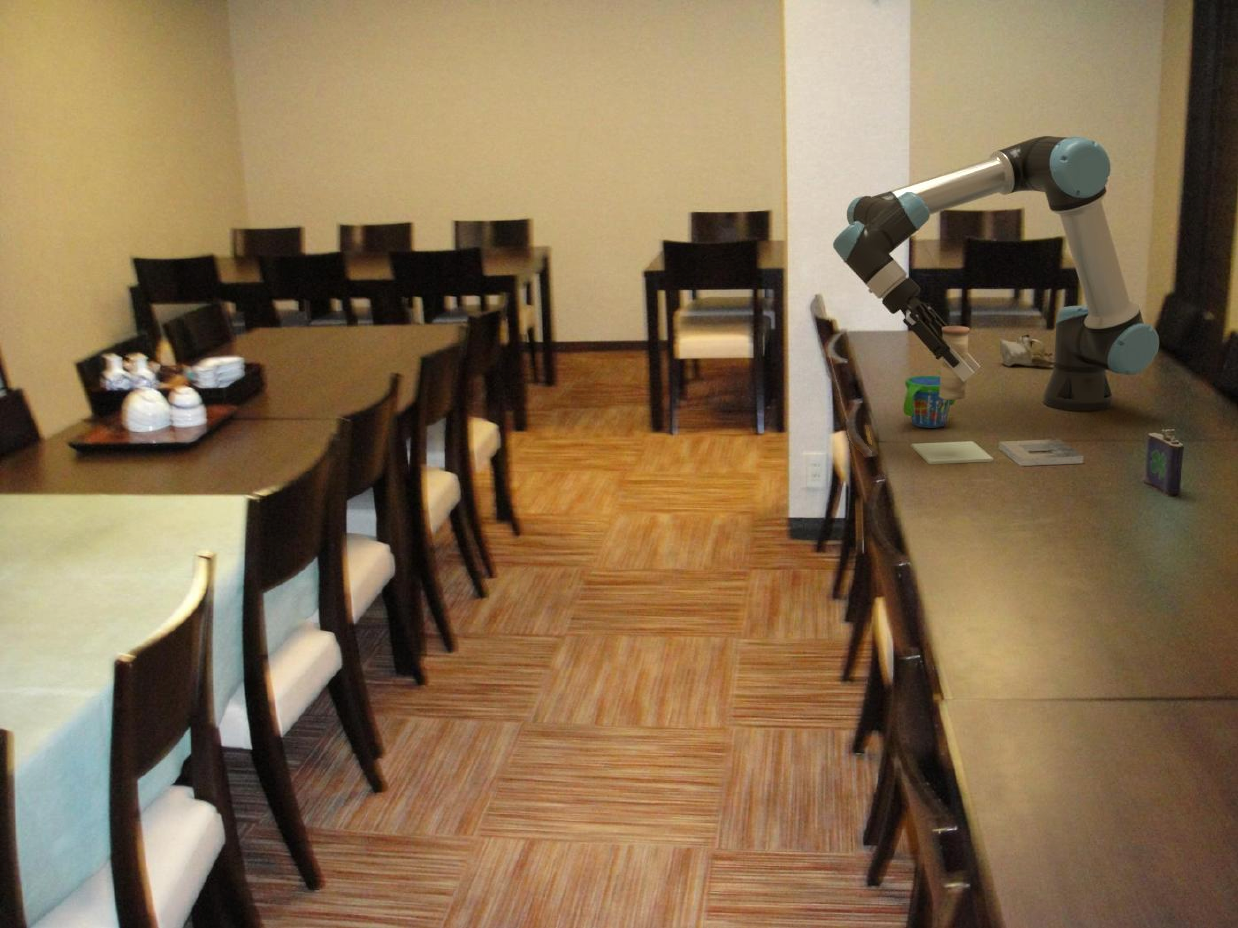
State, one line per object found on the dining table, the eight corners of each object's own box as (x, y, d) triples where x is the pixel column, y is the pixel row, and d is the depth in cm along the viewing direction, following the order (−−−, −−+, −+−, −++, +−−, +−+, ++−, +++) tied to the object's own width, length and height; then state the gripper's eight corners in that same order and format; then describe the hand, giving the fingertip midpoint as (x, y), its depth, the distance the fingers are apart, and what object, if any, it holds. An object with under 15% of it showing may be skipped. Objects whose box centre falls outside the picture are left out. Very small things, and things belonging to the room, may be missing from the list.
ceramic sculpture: (997, 329, 343) (1054, 332, 342) (993, 360, 346) (1050, 364, 344) (1004, 337, 333) (1063, 340, 331) (1000, 369, 336) (1058, 373, 334)
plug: (960, 393, 262) (964, 325, 258) (969, 399, 257) (973, 330, 253) (934, 394, 262) (938, 326, 258) (942, 400, 257) (946, 331, 253)
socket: (1058, 446, 267) (1058, 439, 266) (1082, 463, 255) (1083, 456, 254) (998, 448, 266) (999, 441, 266) (1020, 466, 254) (1021, 458, 254)
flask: (1140, 481, 243) (1146, 422, 239) (1155, 480, 243) (1161, 421, 240) (1169, 497, 233) (1175, 436, 230) (1185, 496, 234) (1191, 435, 230)
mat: (972, 444, 270) (972, 441, 270) (993, 461, 257) (993, 458, 257) (911, 446, 269) (911, 443, 269) (929, 464, 257) (929, 461, 257)
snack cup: (935, 414, 294) (937, 371, 291) (971, 423, 285) (973, 379, 282) (886, 425, 286) (887, 381, 283) (921, 435, 277) (923, 389, 274)
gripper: (892, 293, 269) (967, 377, 266) (868, 307, 253) (947, 396, 251) (919, 269, 265) (995, 353, 262) (896, 282, 250) (976, 371, 247)
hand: (972, 374), depth 257 cm, fingers closed on plug, 5 cm apart
